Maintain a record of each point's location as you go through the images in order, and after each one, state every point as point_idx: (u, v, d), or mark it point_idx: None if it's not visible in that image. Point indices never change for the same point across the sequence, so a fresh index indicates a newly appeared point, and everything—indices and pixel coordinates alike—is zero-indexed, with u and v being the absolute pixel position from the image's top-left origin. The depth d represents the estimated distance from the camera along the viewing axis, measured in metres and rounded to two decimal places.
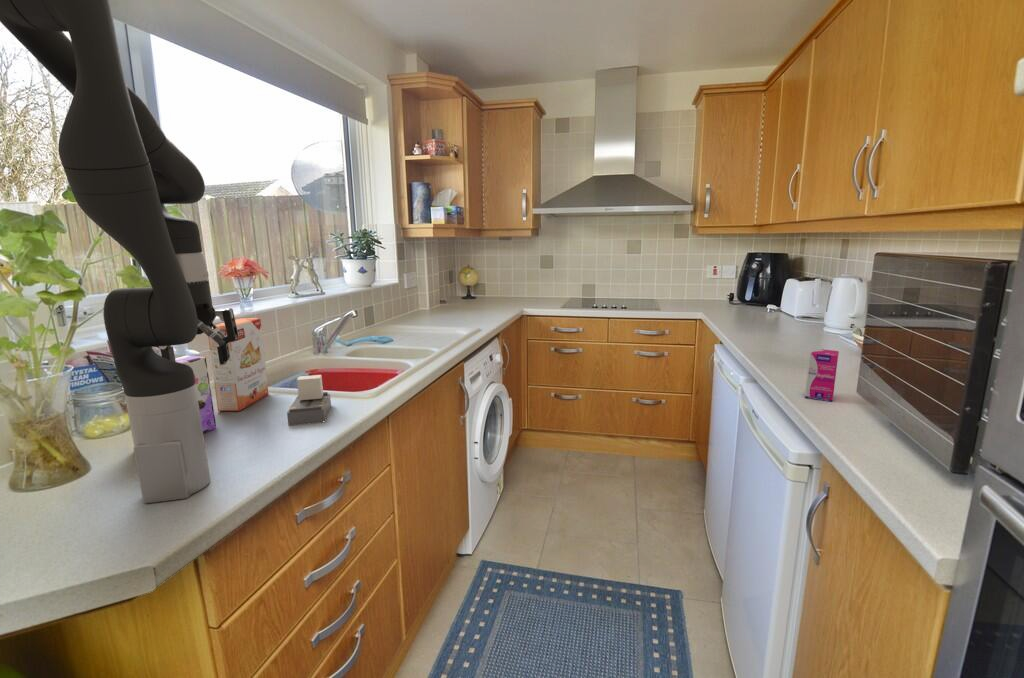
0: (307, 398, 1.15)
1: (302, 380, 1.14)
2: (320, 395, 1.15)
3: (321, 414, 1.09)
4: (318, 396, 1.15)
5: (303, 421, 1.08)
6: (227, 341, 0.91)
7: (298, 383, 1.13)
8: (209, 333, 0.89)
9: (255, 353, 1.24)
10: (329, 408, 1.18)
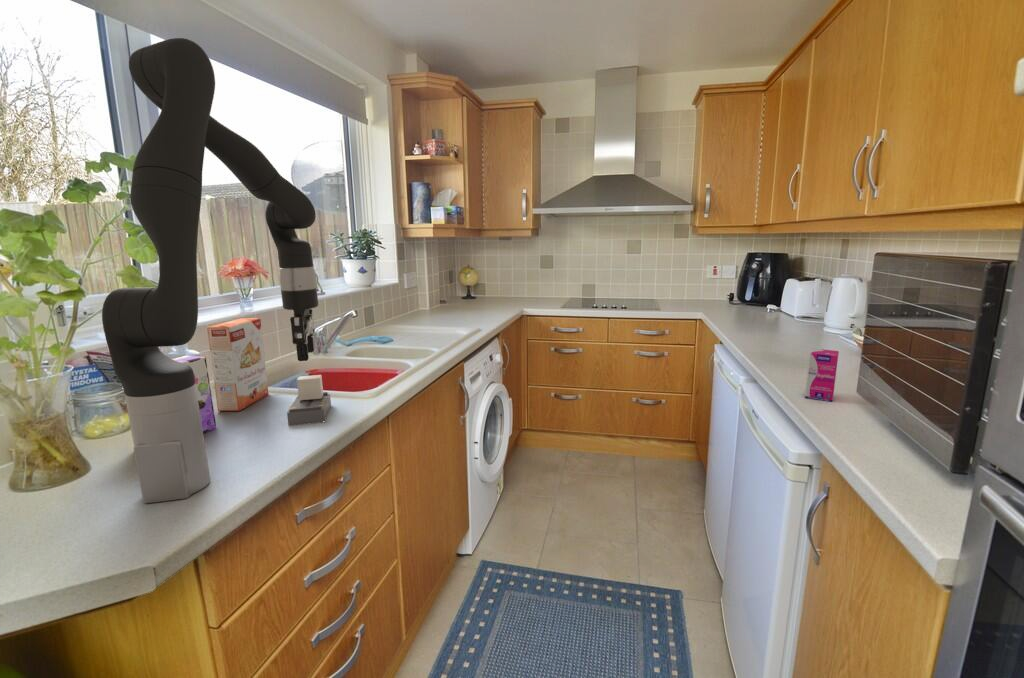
0: (307, 398, 1.15)
1: (302, 380, 1.14)
2: (320, 395, 1.15)
3: (321, 414, 1.09)
4: (318, 396, 1.15)
5: (303, 421, 1.08)
6: None
7: (298, 383, 1.13)
8: (313, 327, 1.16)
9: (255, 353, 1.24)
10: (329, 408, 1.18)
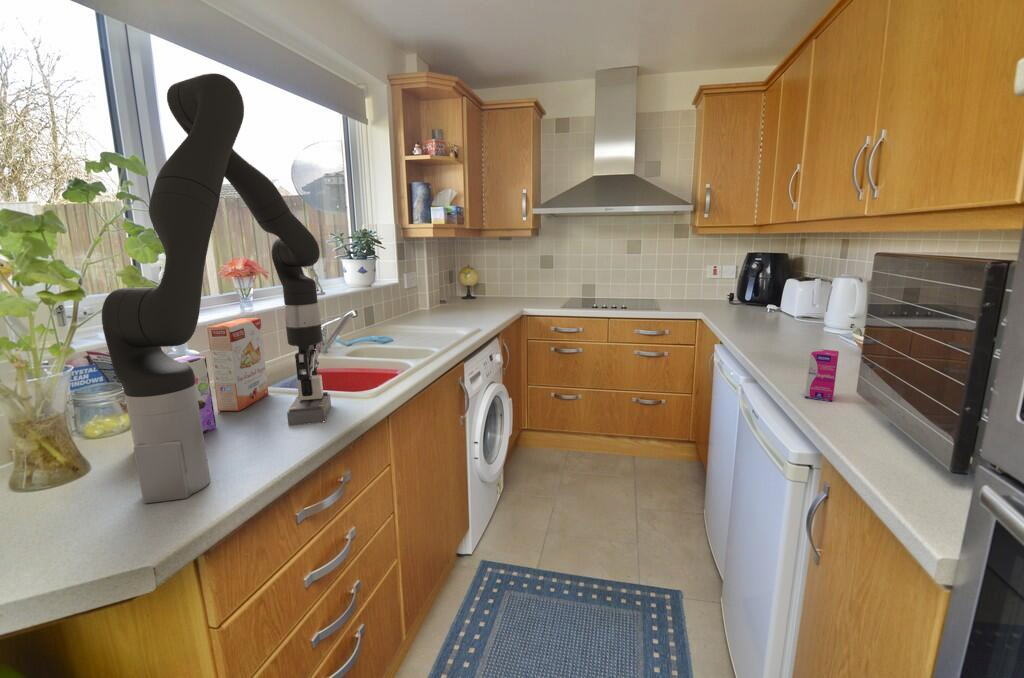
0: (307, 398, 1.15)
1: None
2: (320, 395, 1.15)
3: (321, 414, 1.09)
4: (318, 396, 1.15)
5: (303, 421, 1.08)
6: None
7: (298, 383, 1.13)
8: (317, 361, 1.18)
9: (255, 353, 1.24)
10: (329, 408, 1.18)
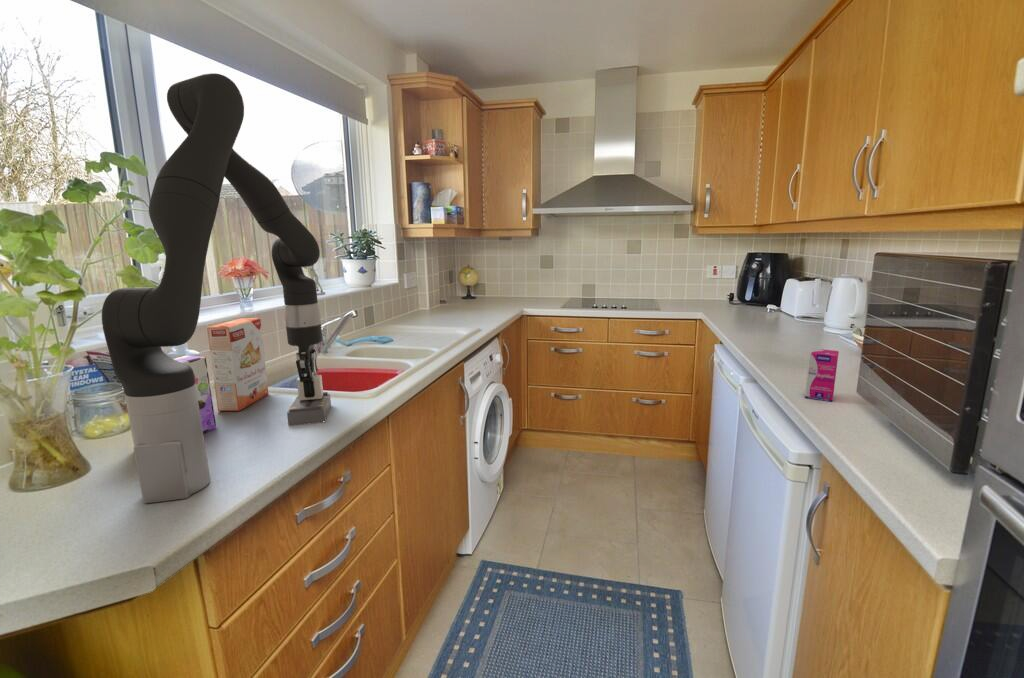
0: (307, 398, 1.15)
1: None
2: (320, 395, 1.15)
3: (321, 414, 1.09)
4: (318, 397, 1.15)
5: (303, 421, 1.08)
6: None
7: (298, 383, 1.13)
8: (316, 364, 1.17)
9: (255, 353, 1.24)
10: (329, 408, 1.18)
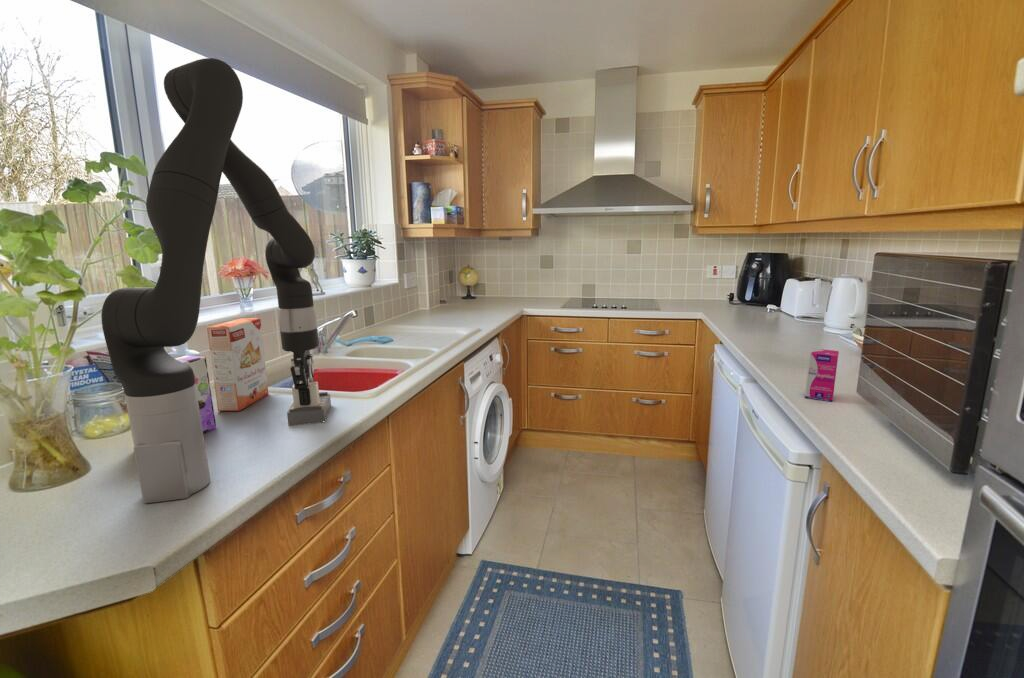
0: (303, 406, 1.09)
1: None
2: (316, 403, 1.10)
3: (321, 414, 1.09)
4: (314, 405, 1.09)
5: (303, 421, 1.08)
6: None
7: (293, 390, 1.08)
8: (313, 370, 1.11)
9: (255, 353, 1.24)
10: (329, 408, 1.18)
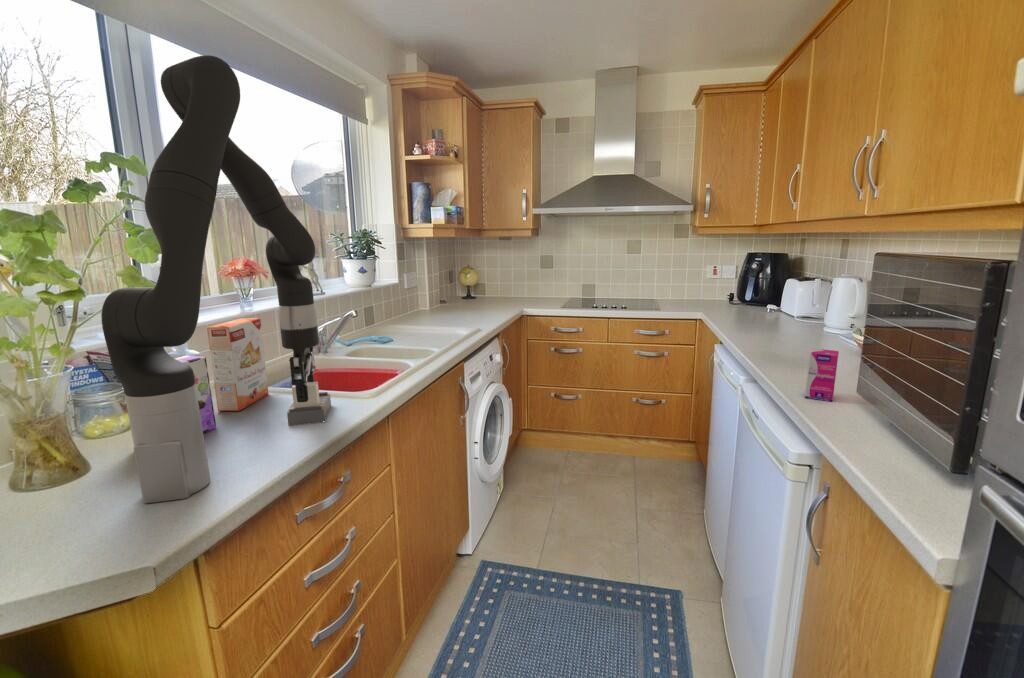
0: (302, 406, 1.09)
1: None
2: (316, 403, 1.09)
3: (321, 414, 1.09)
4: (314, 405, 1.09)
5: (303, 421, 1.08)
6: None
7: (293, 390, 1.08)
8: (313, 364, 1.12)
9: (255, 353, 1.24)
10: (329, 408, 1.18)
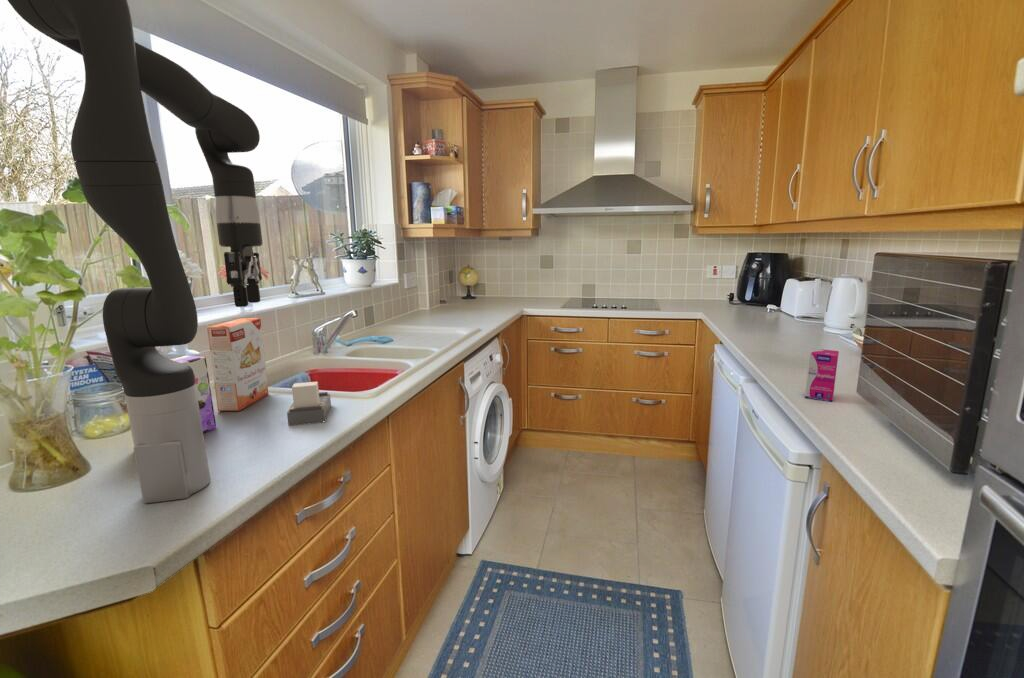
0: (302, 406, 1.09)
1: (297, 387, 1.08)
2: (316, 403, 1.09)
3: (321, 414, 1.09)
4: (314, 405, 1.09)
5: (303, 421, 1.08)
6: None
7: (293, 390, 1.08)
8: (258, 271, 1.00)
9: (255, 353, 1.24)
10: (329, 408, 1.18)
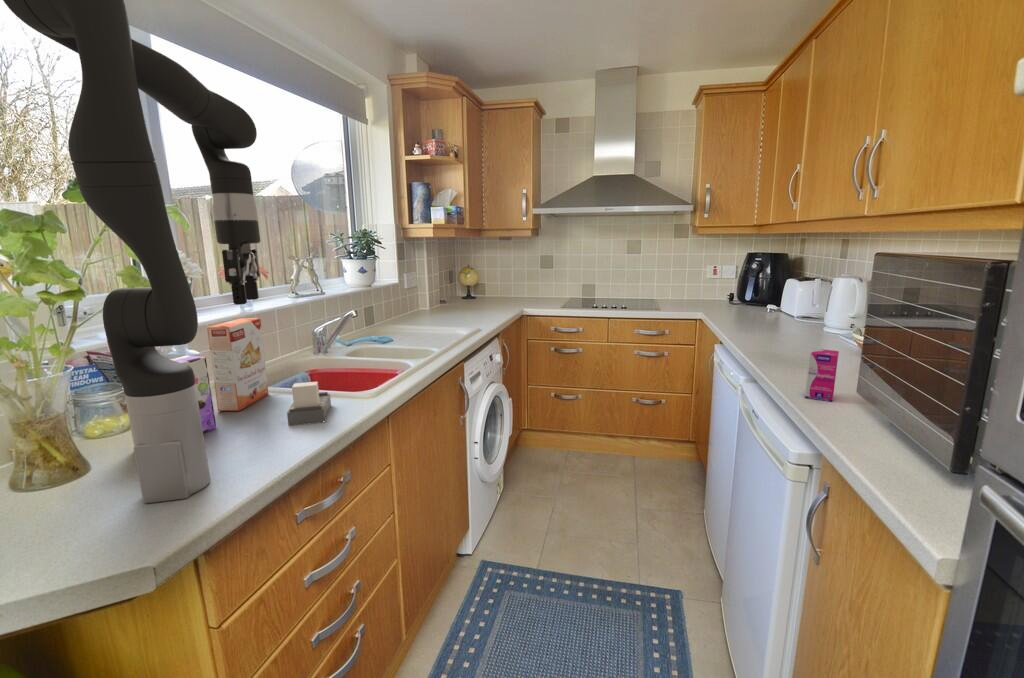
0: (302, 406, 1.09)
1: (297, 387, 1.08)
2: (316, 403, 1.09)
3: (321, 414, 1.09)
4: (314, 405, 1.09)
5: (303, 421, 1.08)
6: None
7: (293, 390, 1.08)
8: (256, 269, 1.00)
9: (255, 353, 1.24)
10: (329, 408, 1.18)
